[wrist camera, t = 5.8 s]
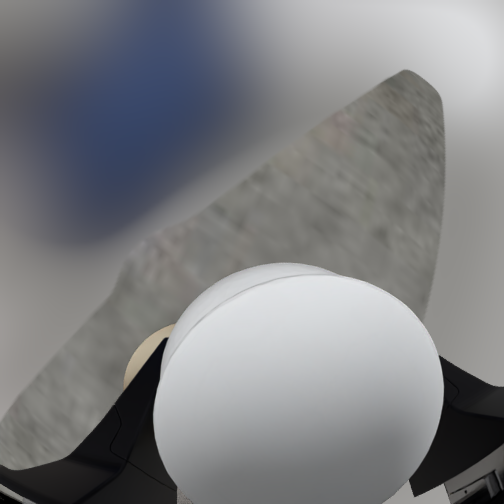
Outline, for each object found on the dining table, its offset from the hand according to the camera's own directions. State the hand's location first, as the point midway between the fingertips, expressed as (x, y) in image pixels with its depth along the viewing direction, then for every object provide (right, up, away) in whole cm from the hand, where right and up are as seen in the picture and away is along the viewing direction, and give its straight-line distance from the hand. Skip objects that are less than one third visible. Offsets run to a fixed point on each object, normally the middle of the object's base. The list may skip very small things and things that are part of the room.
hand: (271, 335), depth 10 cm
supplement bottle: (0, -3, +6) cm, 7 cm away
